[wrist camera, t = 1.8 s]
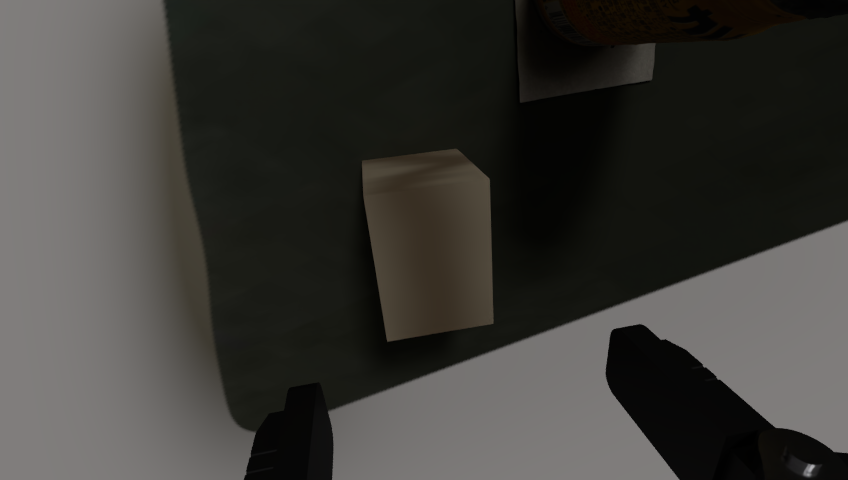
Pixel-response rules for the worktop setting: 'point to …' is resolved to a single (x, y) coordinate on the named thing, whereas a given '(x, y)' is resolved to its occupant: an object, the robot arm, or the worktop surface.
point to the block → (430, 242)
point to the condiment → (632, 36)
